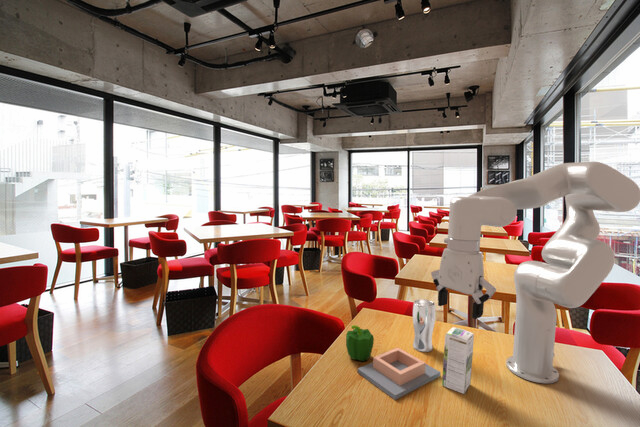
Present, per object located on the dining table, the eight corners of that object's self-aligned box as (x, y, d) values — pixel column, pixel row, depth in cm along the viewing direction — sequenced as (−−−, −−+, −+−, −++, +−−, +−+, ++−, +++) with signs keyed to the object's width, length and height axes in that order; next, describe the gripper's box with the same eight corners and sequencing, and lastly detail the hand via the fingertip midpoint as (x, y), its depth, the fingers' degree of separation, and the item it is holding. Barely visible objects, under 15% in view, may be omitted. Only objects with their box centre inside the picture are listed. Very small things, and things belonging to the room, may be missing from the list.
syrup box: (448, 376, 91) (451, 325, 89) (471, 384, 87) (474, 332, 86) (441, 386, 86) (444, 333, 85) (465, 395, 83) (468, 340, 81)
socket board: (401, 354, 102) (401, 341, 102) (440, 376, 91) (440, 361, 90) (357, 372, 92) (357, 358, 92) (395, 400, 81) (395, 383, 80)
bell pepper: (375, 353, 103) (376, 322, 102) (369, 366, 95) (370, 333, 94) (350, 348, 106) (350, 318, 105) (342, 360, 98) (342, 328, 97)
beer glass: (435, 354, 102) (437, 307, 101) (412, 351, 104) (414, 305, 102) (432, 343, 109) (434, 299, 108) (410, 341, 110) (412, 298, 109)
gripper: (425, 241, 88) (422, 303, 89) (489, 253, 74) (483, 326, 75) (442, 239, 92) (439, 298, 94) (505, 250, 78) (500, 319, 80)
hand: (458, 311), depth 85 cm, fingers open, 9 cm apart
